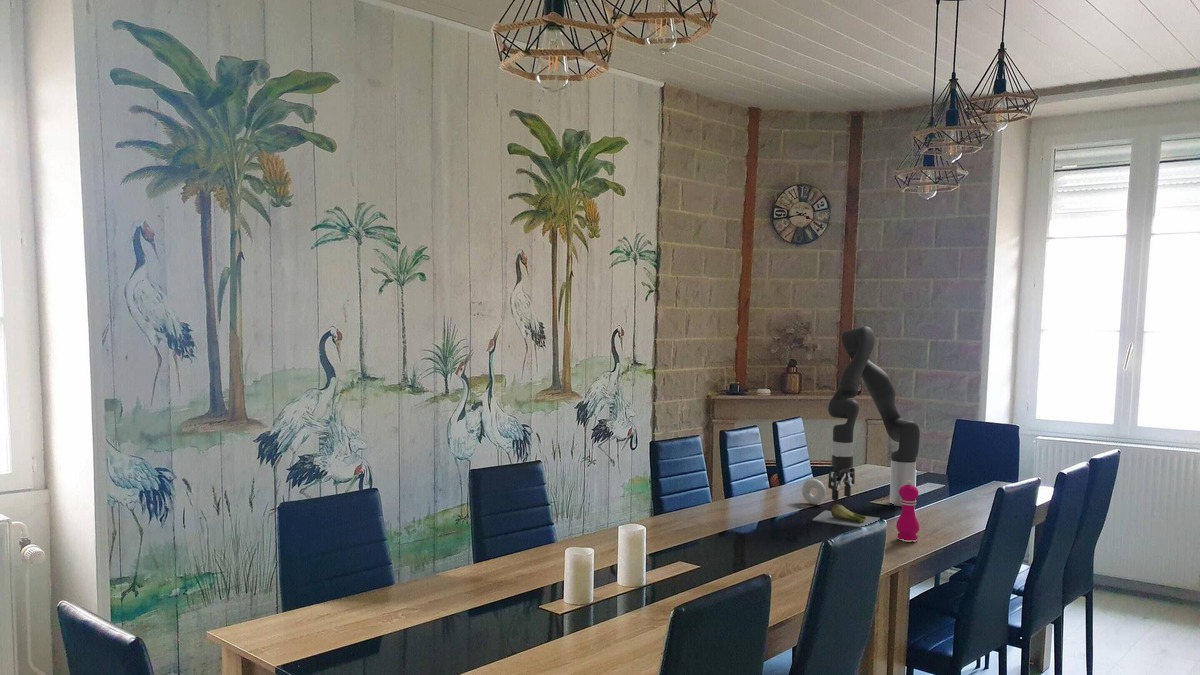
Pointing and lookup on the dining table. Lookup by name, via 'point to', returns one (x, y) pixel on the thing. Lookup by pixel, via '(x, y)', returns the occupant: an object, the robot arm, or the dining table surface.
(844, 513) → the fennel bulb
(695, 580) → the dining table surface
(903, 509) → the pepper mill
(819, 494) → the donut
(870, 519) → the rubber mat
